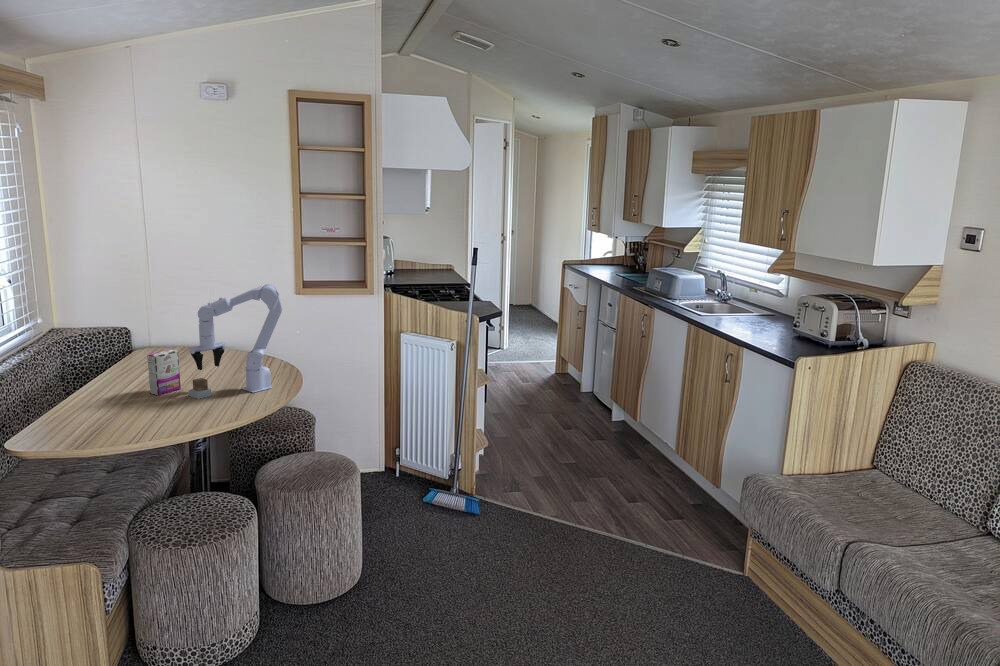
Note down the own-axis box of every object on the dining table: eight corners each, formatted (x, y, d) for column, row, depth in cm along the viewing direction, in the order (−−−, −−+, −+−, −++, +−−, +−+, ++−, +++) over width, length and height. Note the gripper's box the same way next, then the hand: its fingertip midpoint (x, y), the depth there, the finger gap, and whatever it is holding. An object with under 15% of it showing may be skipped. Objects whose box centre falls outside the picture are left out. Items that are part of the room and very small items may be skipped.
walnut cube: (202, 387, 286) (202, 377, 285) (207, 389, 284) (207, 379, 283) (193, 389, 283) (192, 379, 282) (198, 391, 281) (197, 381, 280)
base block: (201, 393, 288) (201, 386, 287) (211, 396, 285) (211, 389, 284) (188, 397, 283) (188, 389, 282) (198, 400, 280) (198, 392, 279)
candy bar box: (172, 387, 293) (170, 348, 290) (181, 389, 291) (179, 350, 288) (149, 394, 283) (146, 354, 280) (158, 396, 281) (155, 356, 278)
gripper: (217, 331, 293) (218, 362, 296) (184, 336, 282) (186, 369, 284) (227, 333, 289) (228, 365, 292) (194, 339, 278) (196, 372, 280)
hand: (208, 367), depth 288 cm, fingers open, 7 cm apart
